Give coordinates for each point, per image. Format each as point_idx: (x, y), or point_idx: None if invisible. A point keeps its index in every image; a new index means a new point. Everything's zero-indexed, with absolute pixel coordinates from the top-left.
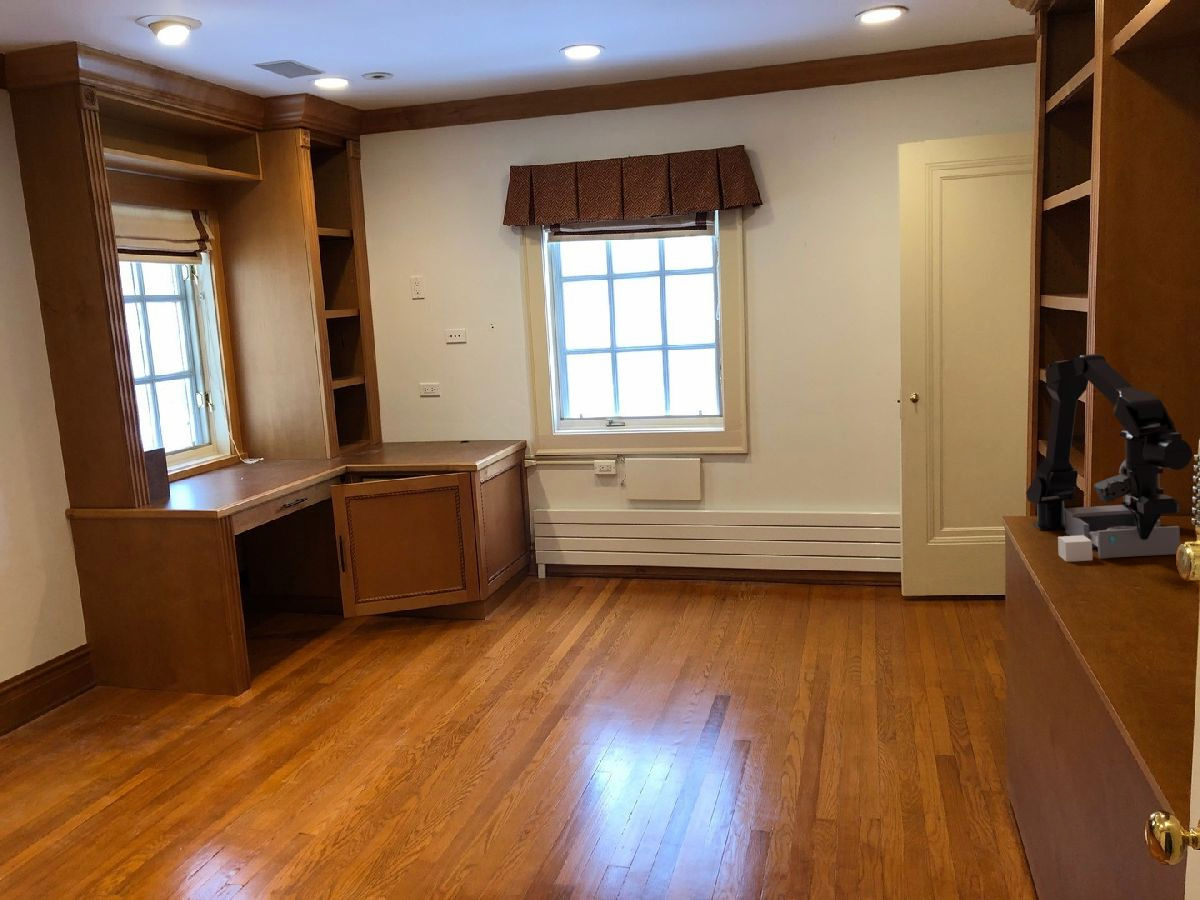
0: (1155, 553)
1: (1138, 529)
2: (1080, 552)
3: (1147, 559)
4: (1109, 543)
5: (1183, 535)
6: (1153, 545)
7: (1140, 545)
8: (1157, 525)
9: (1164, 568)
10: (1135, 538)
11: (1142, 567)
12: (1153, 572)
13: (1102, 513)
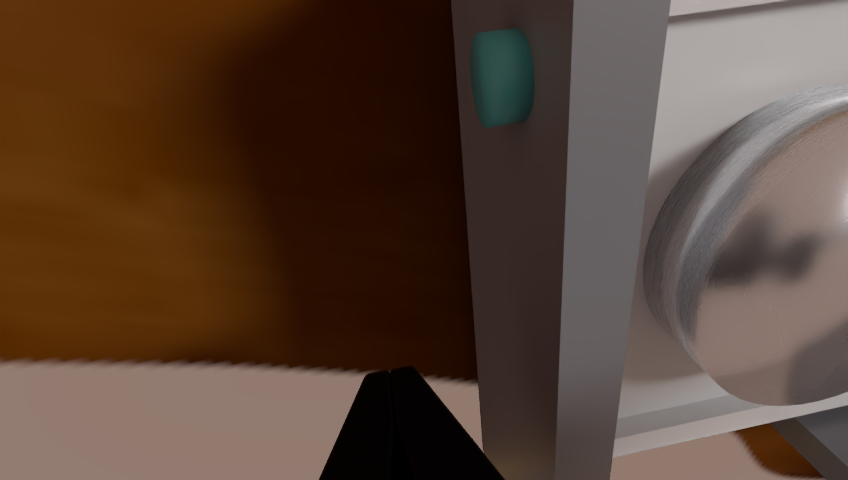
0: (477, 352)
1: (406, 452)
2: None
3: (411, 287)
4: (498, 22)
5: None
6: (494, 386)
7: (493, 311)
8: (844, 476)
9: (159, 350)
10: (518, 319)
11: (168, 225)
12: (12, 275)
13: None
